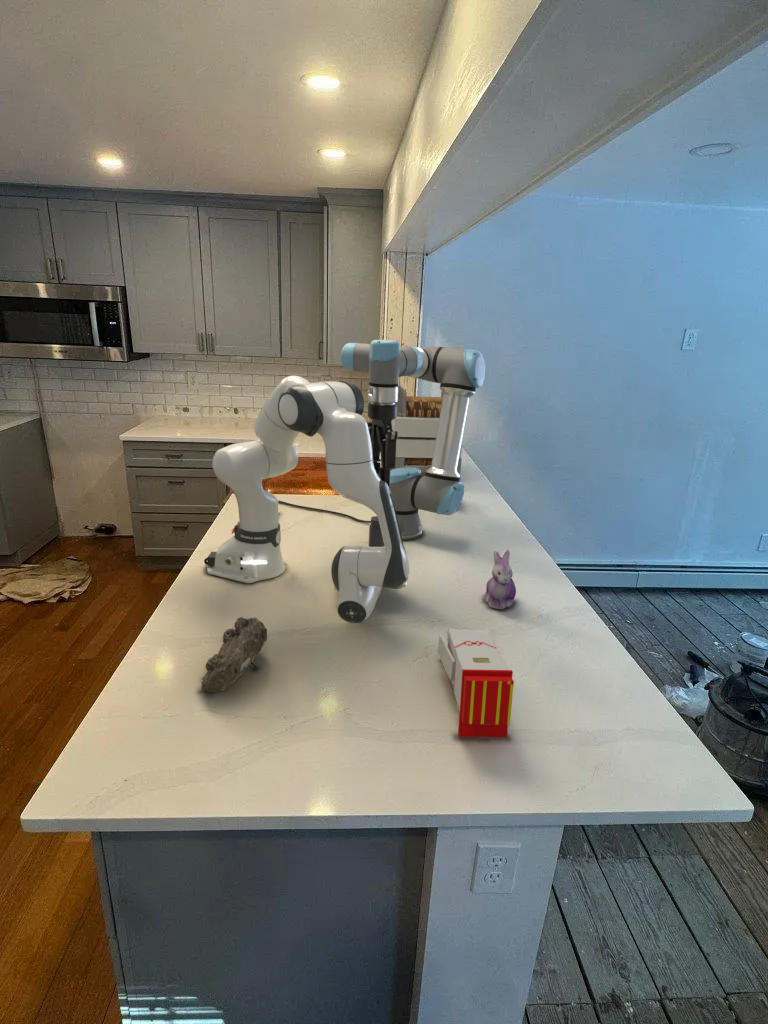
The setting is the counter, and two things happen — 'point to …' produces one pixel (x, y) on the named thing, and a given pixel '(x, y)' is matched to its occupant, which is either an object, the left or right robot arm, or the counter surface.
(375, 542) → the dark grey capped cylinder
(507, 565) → the figurine
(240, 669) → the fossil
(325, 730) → the counter surface
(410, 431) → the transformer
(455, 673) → the toy
